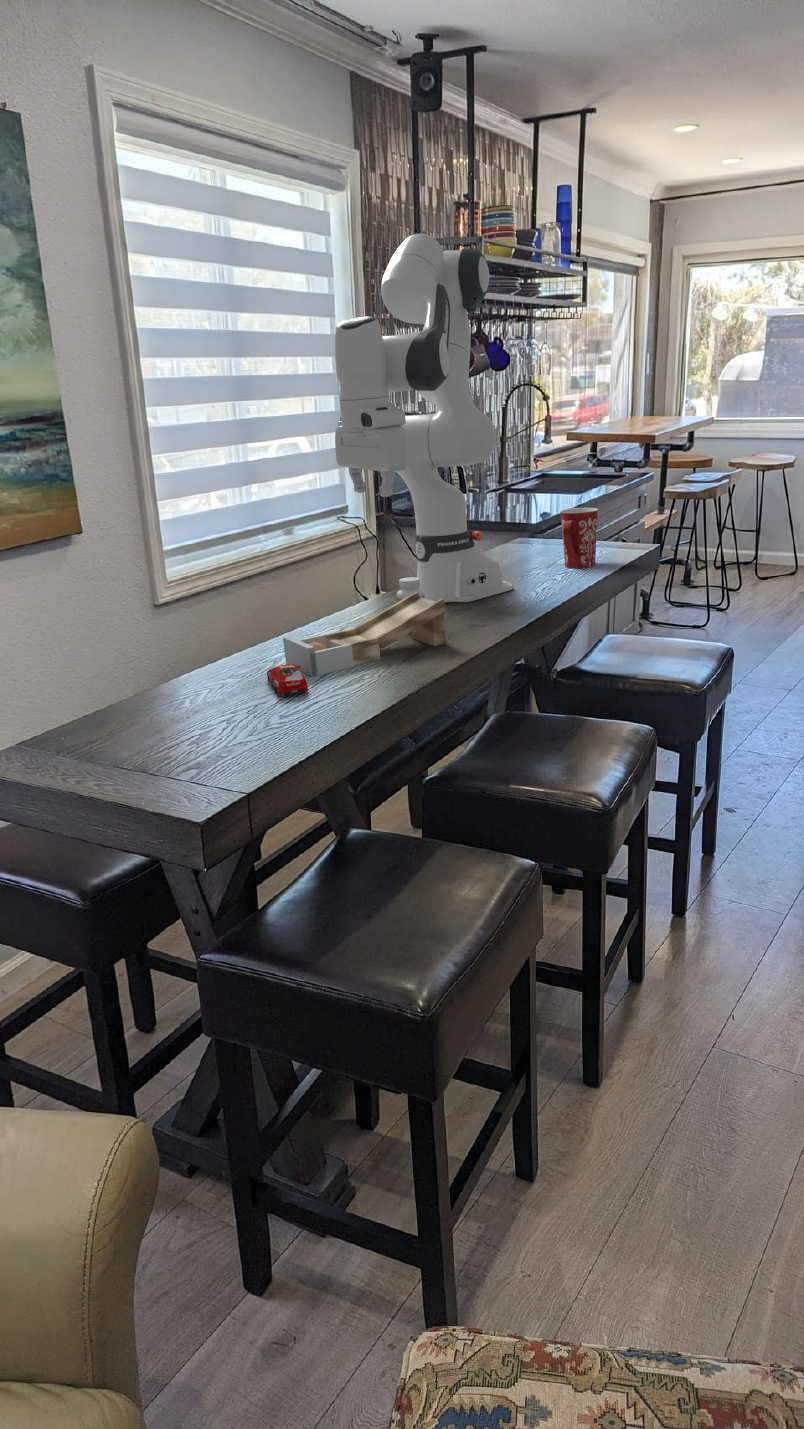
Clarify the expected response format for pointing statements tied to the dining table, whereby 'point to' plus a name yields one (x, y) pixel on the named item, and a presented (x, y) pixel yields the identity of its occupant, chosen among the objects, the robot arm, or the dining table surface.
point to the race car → (287, 680)
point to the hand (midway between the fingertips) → (373, 494)
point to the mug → (579, 536)
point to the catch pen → (317, 655)
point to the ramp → (394, 628)
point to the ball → (317, 646)
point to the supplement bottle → (409, 588)
